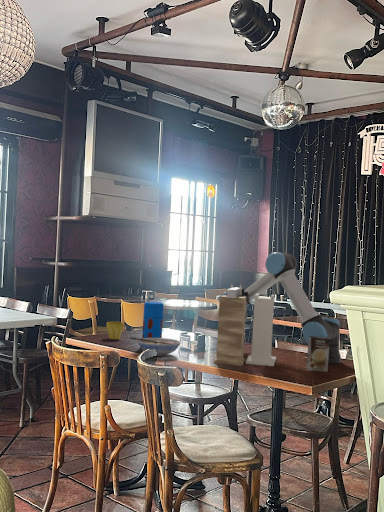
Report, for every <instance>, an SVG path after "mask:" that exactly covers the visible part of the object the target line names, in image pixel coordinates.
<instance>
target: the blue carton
mask: <svg viewBox="0 0 384 512" xmlns="http://www.w3.org/2000/svg"><path fill="white" fill-rule="evenodd" d="M142 317H143V318H142V335H141V338H163V337H162V336H163V335H162V334H163V321H164V303H163V302H155V301H146V302H144V305H143V316H142Z"/></svg>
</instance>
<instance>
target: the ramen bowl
mask: <svg viewBox="0 0 384 512" xmlns="http://www.w3.org/2000/svg"><path fill="white" fill-rule="evenodd" d="M130 340H136V341H137V343H138V345H139V347H140V348H141V350H142V351H144V352H146V351H145V350H147V349H155V350H156V352H157V356H156V357H164V356H166V355H169V354H171V353H173V352H175V351H176V350H177V349H178V348H179V347H180V344H181V340H177V339H175V338H174V339H173V338H165V337H162V338H142V337H141V338H138V337H130Z"/></svg>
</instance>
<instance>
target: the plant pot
mask: <svg viewBox="0 0 384 512" xmlns="http://www.w3.org/2000/svg"><path fill="white" fill-rule="evenodd" d="M124 326H125V323H124V322H121V321H107V322H106V329H107V334H108V338H109V339H110V340H120V339H121V338H122V337H121V336H122V333H123V330H124Z"/></svg>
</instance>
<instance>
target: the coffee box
mask: <svg viewBox="0 0 384 512" xmlns="http://www.w3.org/2000/svg"><path fill="white" fill-rule="evenodd" d="M329 342H330V339H329V338H326V337H314V336H309V339H308V342H307V354H306V368H305V369H307V370H308V371H310V372H325V373H326V372H328V370H329V368H328V367H329V363H328V356H329Z"/></svg>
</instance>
